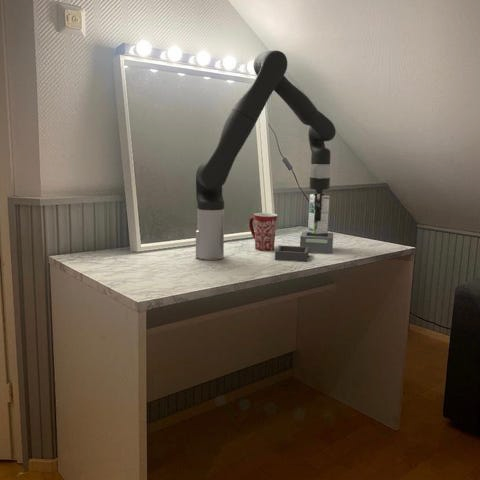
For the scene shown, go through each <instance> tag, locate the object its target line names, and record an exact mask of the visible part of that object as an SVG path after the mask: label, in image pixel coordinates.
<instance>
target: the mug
mask: <svg viewBox="0 0 480 480" xmlns="http://www.w3.org/2000/svg"><path fill="white" fill-rule="evenodd" d="M278 217H279V216H278V214H276V213H271V212H257V213H253V216H252V217H250V218H249V222H248V225H249V226H248V227H249V231H250V233H251V236H252V238H253V240H254V249H255V250H257V251H260V252H261V251H262V252H264V251H265V252H270V251H275V240H276V231H277V230H276V229H277V221H278ZM253 222H254V225H253Z"/></svg>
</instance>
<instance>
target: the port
mask: <svg viewBox="0 0 480 480" xmlns="http://www.w3.org/2000/svg"><path fill="white" fill-rule="evenodd" d="M299 238H300V241H299V247H309V253H311V254H329V255H333V246H334V232H328V231H327V233H321V234H314V233H311V232H308V230H305V231H302V232H301V235H300V237H299Z"/></svg>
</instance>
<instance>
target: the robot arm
mask: <svg viewBox="0 0 480 480" xmlns="http://www.w3.org/2000/svg"><path fill="white" fill-rule="evenodd" d="M287 69H288V58H287V55H286V54H285V53H284V52H283V51H280V50H269V51H268V50H267V51H264V52H260V53H259V54H257V55H256V56H255V58H254V60H253V70H254V71H253V72H254V73H255V74H256V77H255V80H254V82H253V83H252V84H251V85H250V87H249V88H248V90H246V91H245V92H244V94H242V96H241V97H240V98H239V99H238V101H237V102H236V103H235V104H234V106H233V107H232V108H231V110H230V113H229V114H228V115H227V118H226V120H225V122H224V124H223V128H222V131H221V135H220V137H219V142H218V144H217V147H216V148H215V150H214V152H213V153H212V155H211V157H210V158H209V160H208V161H205V162H203V163H201V164H200V165H199V166H198V167H197V170H196V173H195V190H196V191H195V193H196V195H195V196H196V203H197V230H195V258H196V259H200V260H205V261H206V260H207V261H209V260H210V261H216V260H222V259H224V254H225V249H224V247H225V246H224V244H225V242H224V241H225V240H224V239H225V201H224V197H223V186H224V185H225V184H226V181H227V179H228V177H229V174H230V171H231V170H232V167H233V164H234V163H235V160H236V158H237V156H238V154H239V152H241V150H242V148H243V147H244V145H245V143H246V142H247V139H248V137H249V136H250V134H251V133H252V131H253V129H254V127H255V125H256V124H257V122H258V120H259V117H260V116H261V114H262V111H263V110H264V108H265V107H266V104H267V103H268V101H269V99H270V97H271V95H272V93H273V92H275V94H277V95H278V96H279V97H280V98H281V99H282V100H283V101H284V102H285V104H286V105H287V106H288V107H289V108H290V109H291V111H292V112H293V113H294V114H295V116H296V117H297V118H298V119H299V121H300V122H301V124H303V125H305V126H309V129H308V143H309V148H310V151H311V160H310V162H311V163H310V168H309V189H310V190H314V191H315V193H313V194H314V195H315V197H314V206H315V207H314V210H315V221H321V210H322V206H323V199H324V197H323V198H322V195H326V194H325V193H324V191H326V190H329V189H330V187H331V186H330V185H331V150H330V149H329V148H327V147H326V145H325V142H329V141H331V140H333V139H335V136H336V133H337V131H336V127H335V125H334V123H333V122H332V120H330V118H328V117H327V116H326V115H325V114H324V113H322V112H321V111H319V109H318V108H317V107H316V106H315V104H314V103H313V102H312V101H311V100H310V98H309V97H308V96H307V95H306V94H305V93H304V92H303V91H302V90H300V89H299V88H298V87H296V85H295V84H293V83H292V82H291V81H290V80H288V78H287V77H286V76H285V75H286V72H287ZM316 205H318V206H320V207H316Z"/></svg>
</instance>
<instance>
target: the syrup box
mask: <svg viewBox="0 0 480 480" xmlns="http://www.w3.org/2000/svg"><path fill="white" fill-rule="evenodd" d="M314 194H315V193H311V194H309V205H308V223H307V224H308V225H307V226H308V227H307V231H308V232H311V233H314V234H321V233H327V232H328V230H329V229H328V228H329V227H328V226H329V214H330V213H329V212H330V211H329V210H330V195H328V194H325V195H322V198H323V197H324V199H323V206H322V210H321V221H315V210H314V207H315V206H314V197H315V195H314ZM316 207H320V206H318V205H316Z"/></svg>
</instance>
